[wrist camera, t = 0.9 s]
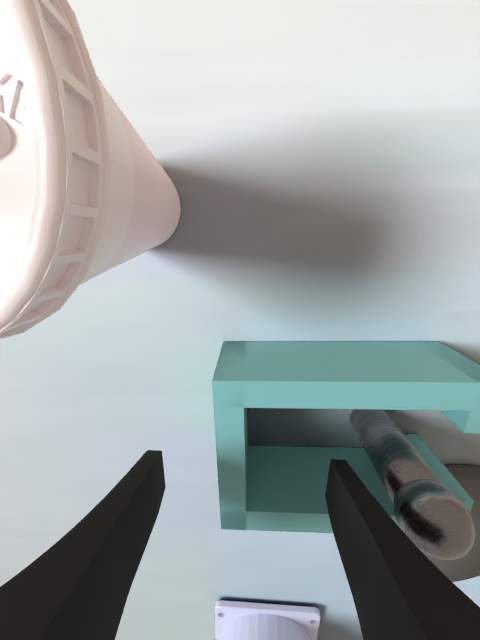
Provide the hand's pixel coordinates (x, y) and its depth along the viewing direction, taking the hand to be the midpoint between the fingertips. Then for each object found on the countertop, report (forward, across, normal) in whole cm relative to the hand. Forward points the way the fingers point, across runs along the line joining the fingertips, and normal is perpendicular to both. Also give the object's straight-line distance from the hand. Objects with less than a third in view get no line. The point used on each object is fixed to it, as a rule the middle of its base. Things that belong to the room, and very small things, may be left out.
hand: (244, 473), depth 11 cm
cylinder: (+4, -7, 0) cm, 8 cm away
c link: (+4, -4, 0) cm, 6 cm away
